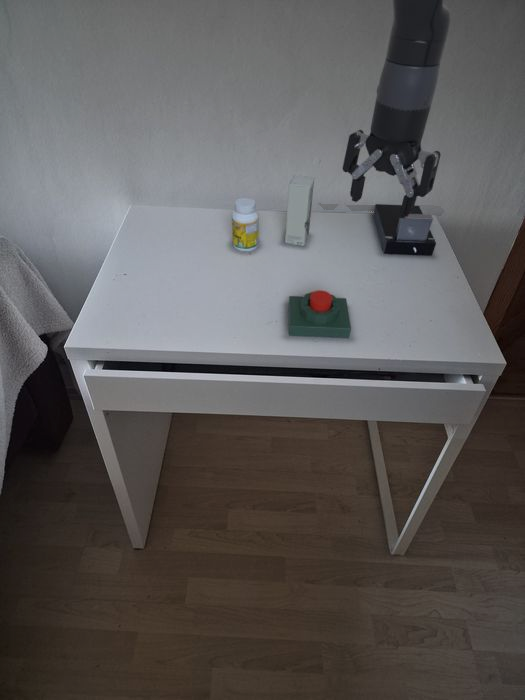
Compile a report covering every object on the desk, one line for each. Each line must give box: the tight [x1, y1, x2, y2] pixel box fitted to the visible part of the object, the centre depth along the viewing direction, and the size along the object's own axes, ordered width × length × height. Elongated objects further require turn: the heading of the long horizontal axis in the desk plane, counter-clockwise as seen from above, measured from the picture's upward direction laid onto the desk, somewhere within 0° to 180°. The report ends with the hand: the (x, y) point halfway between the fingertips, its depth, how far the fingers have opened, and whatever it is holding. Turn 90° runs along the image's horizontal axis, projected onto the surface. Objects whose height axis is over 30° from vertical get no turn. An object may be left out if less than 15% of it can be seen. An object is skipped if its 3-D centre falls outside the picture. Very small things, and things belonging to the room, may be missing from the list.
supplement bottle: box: [231, 197, 260, 252], centre depth 90 cm, size 5×5×10 cm
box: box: [284, 174, 315, 247], centre depth 91 cm, size 5×4×13 cm
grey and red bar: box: [395, 213, 434, 241], centre depth 89 cm, size 6×2×5 cm, turn 88°
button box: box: [288, 291, 352, 339], centre depth 75 cm, size 10×8×4 cm
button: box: [309, 289, 332, 312], centre depth 74 cm, size 4×4×2 cm
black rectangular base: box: [372, 203, 437, 257], centre depth 95 cm, size 20×10×3 cm, turn 178°
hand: (379, 207), depth 73 cm, fingers open, 8 cm apart
